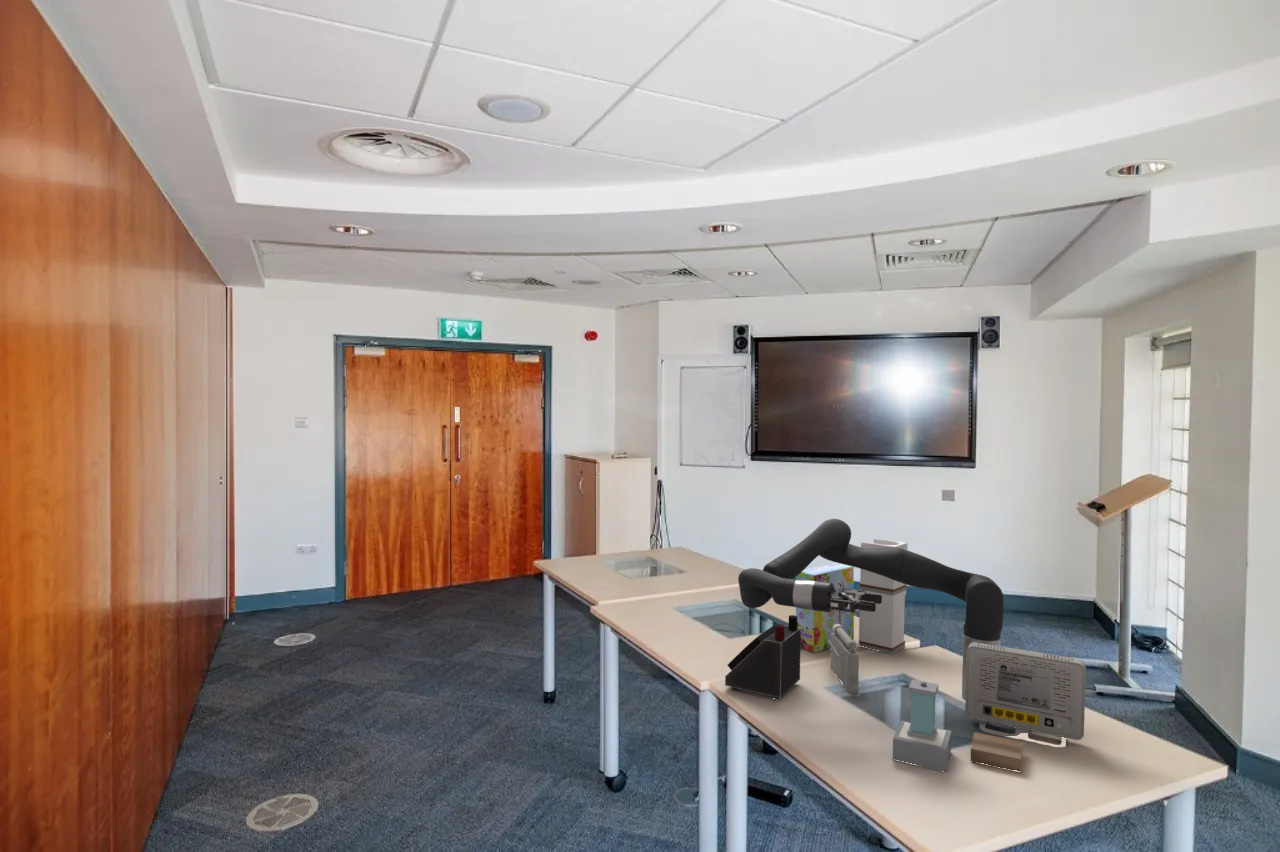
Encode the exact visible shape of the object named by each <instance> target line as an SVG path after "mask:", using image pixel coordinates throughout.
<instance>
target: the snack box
mask: <svg viewBox="0 0 1280 852" xmlns="http://www.w3.org/2000/svg"><path fill="white" fill-rule="evenodd" d="M854 569H855V568H854V567H853V566H849V565H845V564H841V563H837V562H833V563H830V564H826V565H820V566H815V567H809V568H807V569H806V568H805V569H804V570H803V571H802V572H801V573H800V574H799V575H798V576H796V577H795V580H813V581H822V582H831V583H833V585H834V589H835V591H841V590H842V588H848V589H855V587H854V580H855V579H854V575H855V574H854ZM854 613H855V612H853V613H852V612H847V611H840V610H832V611H831V612H822V611H814V610H807V609H801V608H798V607H795V616H797V627H798V628H801V648H802V649H801V650H804V649H805V650H804V651H807V650H808V652H810V651H812V652H811V653H813V652H816V653H818V652H821V651H823V650H827V649H829V646H828V640H830V642H831V635H832V633H834V632H833V630H832V628H833V625H834V624H840V625H841V626H842V627H843V628H844V631H845V632H846V633H847V634H848V636H849V637H850V636H851V639H852V640H853V641H854V640H855V633H854V632H855V627H854V625H855V619H854V618H855V614H854ZM829 644H830V643H829ZM830 647H831V645H830Z"/></svg>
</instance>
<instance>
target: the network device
mask: <svg viewBox="0 0 1280 852" xmlns="http://www.w3.org/2000/svg"><path fill="white" fill-rule="evenodd" d="M1086 670H1087V669H1086V663H1085V662H1084V661H1083V660H1081V659H1080V658H1075V657H1070V656H1063V655H1058V654H1057V655H1056V654H1051V653H1043V652H1038V651H1032V650H1025V649H1019V648H1013V647H1007V646H1001V645H1000V646H995V645H989V644H983V643H977V642H973V643H971V644H970V645H969V647H968V649H967V659H966V697H965V698H964V699H965V700H964V701H965V702H964V703H965V704H964V711H965V714H966V716H967V717H969V718H971V719H974V720H980V722H979V729H980V730H981V732H982V731H983V732H984V733H985V734H989V735H993V736H998V737H1003V736H1017V735H1019V734H1020V733H1029V734H1030V732H1036V733H1040V734H1044V735H1045V734H1046V735H1051V736H1055V737H1059V738H1060V737H1064V738H1067V739H1069V740H1073V741H1081V740H1082V739H1083V738H1084V737H1085V734H1084V733H1085V710H1086V683H1087V682H1086V680H1087V679H1086V678H1087V677H1086V675H1087V671H1086ZM987 723H993V724H998V725H1003V726H1008V727H1013V728H1015V727H1016V728H1015V731H1014V733H1007V732H1002V731H999V730H994V729H990V728H986V726H987ZM1029 730H1031V731H1030V732H1029Z"/></svg>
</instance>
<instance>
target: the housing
mask: <svg viewBox="0 0 1280 852" xmlns="http://www.w3.org/2000/svg"><path fill="white" fill-rule="evenodd" d="M938 690H939V683H935V682H930V681H929V682H928V681H923V680H918V679H912V680H911V681H910V683H909V685H908V692H909V693H910V721H909V722H910V727H909V729H908V734H907V735H908V736H912V737H917V738H921V739H926V740H931V741H934V740H935V737H936V734H937V728H938V727H936V696H937V693H938Z"/></svg>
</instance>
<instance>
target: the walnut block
mask: <svg viewBox="0 0 1280 852" xmlns="http://www.w3.org/2000/svg"><path fill="white" fill-rule="evenodd" d="M970 746H971V747H970V761H973V762H978V763H984V764H988V765H991V766H996V767H1000V768H1006V769H1010V770H1017V771H1022V754H1023V753H1022V751H1023V748H1022V747H1023V741H1022V740H1017V739H1012V738H1008V737H1003V736H998V735H993V734H989V733H982V732H977V731H973V735H972V742H971V745H970ZM973 762H972V763H973ZM978 763H977V764H978ZM991 766H990V767H991ZM996 767H995V768H996ZM1000 768H999V769H1000Z"/></svg>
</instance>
